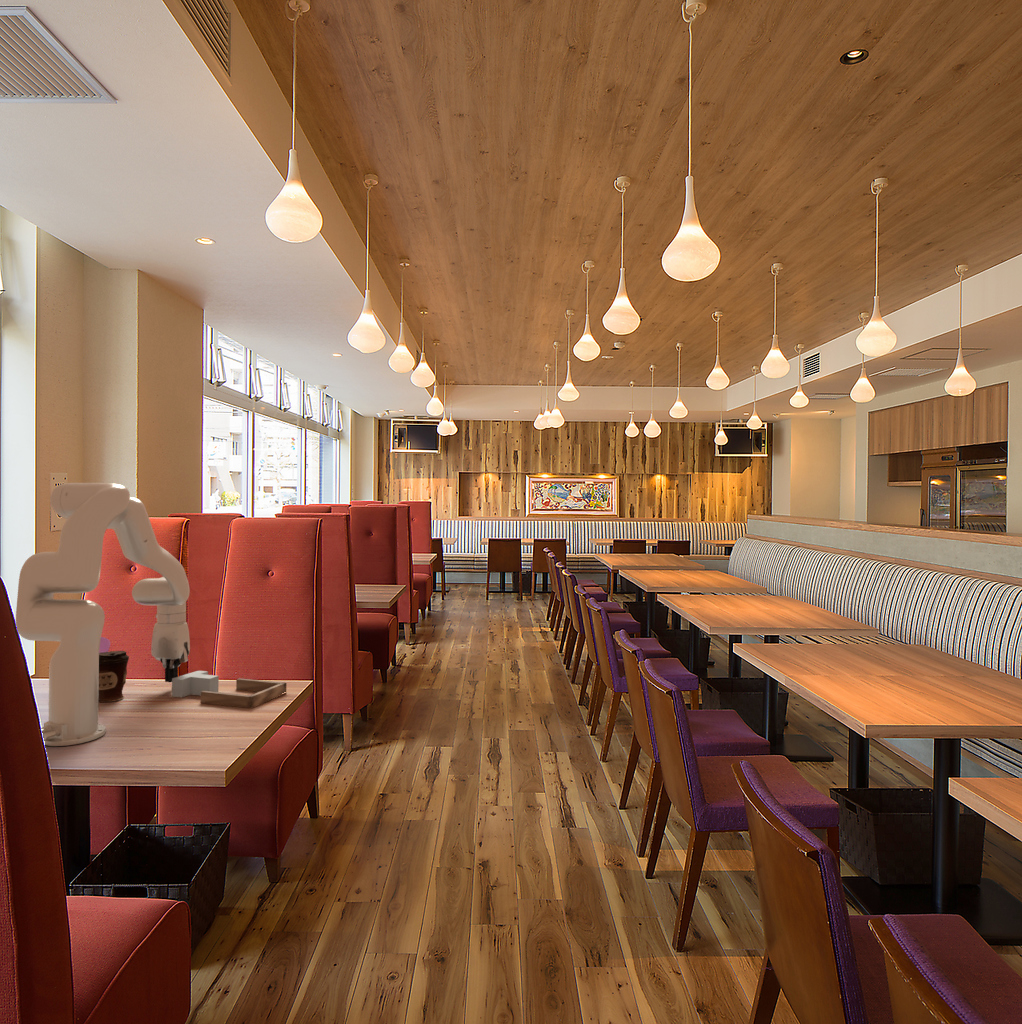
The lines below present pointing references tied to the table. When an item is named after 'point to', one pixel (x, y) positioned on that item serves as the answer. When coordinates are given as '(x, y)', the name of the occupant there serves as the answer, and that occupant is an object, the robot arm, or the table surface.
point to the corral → (264, 689)
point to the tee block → (194, 684)
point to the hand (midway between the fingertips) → (171, 680)
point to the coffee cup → (112, 675)
